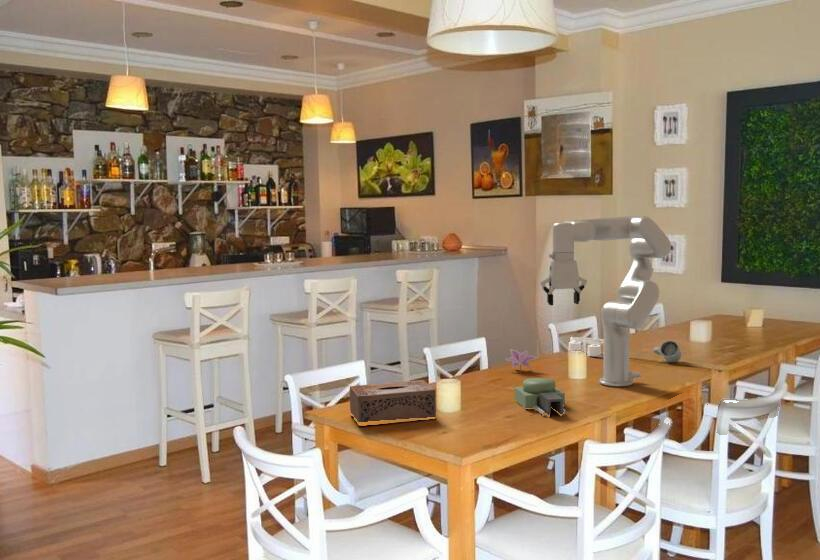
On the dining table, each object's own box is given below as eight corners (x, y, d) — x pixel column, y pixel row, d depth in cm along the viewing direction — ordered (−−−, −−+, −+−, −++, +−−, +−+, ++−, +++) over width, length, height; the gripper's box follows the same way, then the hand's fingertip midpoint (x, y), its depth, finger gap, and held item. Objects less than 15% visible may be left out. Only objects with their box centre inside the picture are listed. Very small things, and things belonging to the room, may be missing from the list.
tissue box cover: (358, 427, 242) (358, 396, 241) (350, 415, 256) (349, 386, 255) (436, 419, 249) (435, 389, 248) (423, 408, 263) (423, 380, 262)
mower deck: (552, 398, 271) (552, 376, 270) (574, 414, 250) (574, 390, 249) (514, 401, 268) (514, 378, 268) (533, 417, 248) (533, 393, 247)
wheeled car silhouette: (563, 354, 349) (563, 338, 349) (579, 350, 356) (579, 335, 355) (598, 360, 333) (598, 344, 333) (614, 357, 340) (614, 341, 339)
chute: (553, 409, 257) (553, 392, 257) (562, 416, 248) (562, 398, 248) (539, 410, 256) (539, 392, 256) (548, 417, 248) (548, 399, 247)
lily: (542, 372, 313) (538, 349, 317) (525, 368, 305) (522, 345, 308) (518, 378, 321) (515, 356, 324) (501, 374, 313) (499, 352, 316)
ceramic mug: (676, 366, 325) (686, 352, 326) (671, 360, 319) (682, 345, 319) (654, 355, 332) (664, 340, 332) (650, 348, 326) (660, 333, 326)
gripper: (543, 258, 266) (544, 306, 268) (590, 256, 269) (590, 304, 271) (536, 257, 274) (537, 304, 275) (582, 255, 276) (582, 301, 278)
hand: (563, 304), depth 273 cm, fingers open, 9 cm apart
